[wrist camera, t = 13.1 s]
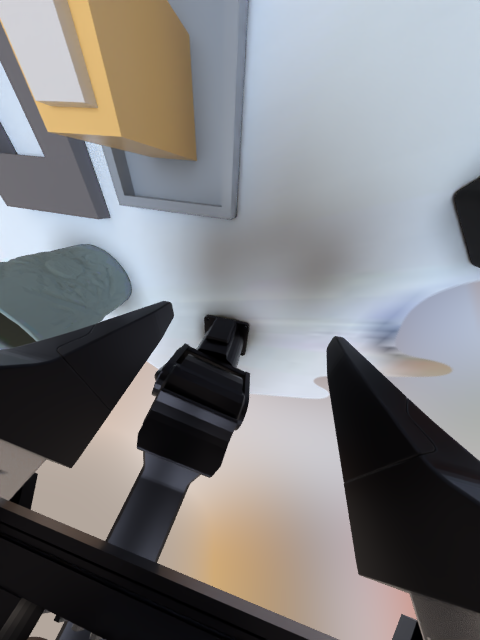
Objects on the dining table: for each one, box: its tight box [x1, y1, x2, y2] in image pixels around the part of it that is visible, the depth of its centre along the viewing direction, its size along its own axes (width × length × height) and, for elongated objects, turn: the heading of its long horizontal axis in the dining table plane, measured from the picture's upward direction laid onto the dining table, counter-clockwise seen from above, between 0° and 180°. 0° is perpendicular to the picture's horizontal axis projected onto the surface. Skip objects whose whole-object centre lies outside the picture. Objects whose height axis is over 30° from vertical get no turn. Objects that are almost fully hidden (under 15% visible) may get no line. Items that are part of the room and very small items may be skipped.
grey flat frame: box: [0, 22, 110, 219], centre depth 14 cm, size 16×12×2 cm
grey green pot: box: [0, 245, 131, 350], centre depth 20 cm, size 10×10×12 cm
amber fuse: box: [0, 0, 197, 161], centre depth 9 cm, size 6×4×9 cm
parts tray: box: [102, 0, 248, 220], centre depth 12 cm, size 13×11×2 cm
